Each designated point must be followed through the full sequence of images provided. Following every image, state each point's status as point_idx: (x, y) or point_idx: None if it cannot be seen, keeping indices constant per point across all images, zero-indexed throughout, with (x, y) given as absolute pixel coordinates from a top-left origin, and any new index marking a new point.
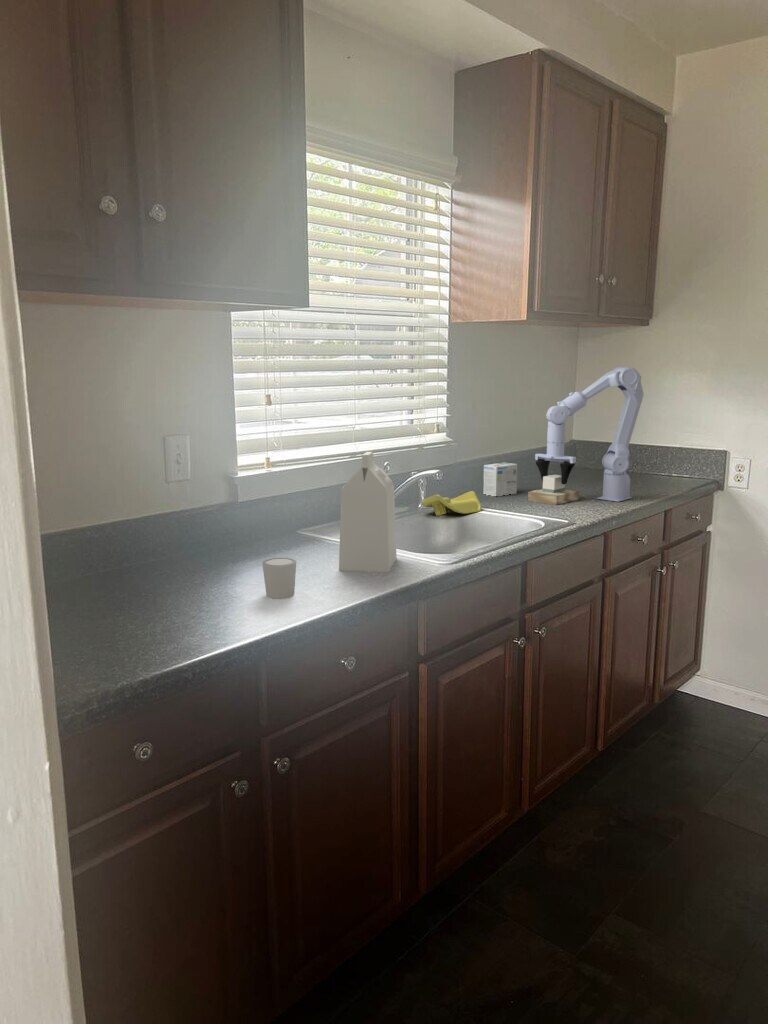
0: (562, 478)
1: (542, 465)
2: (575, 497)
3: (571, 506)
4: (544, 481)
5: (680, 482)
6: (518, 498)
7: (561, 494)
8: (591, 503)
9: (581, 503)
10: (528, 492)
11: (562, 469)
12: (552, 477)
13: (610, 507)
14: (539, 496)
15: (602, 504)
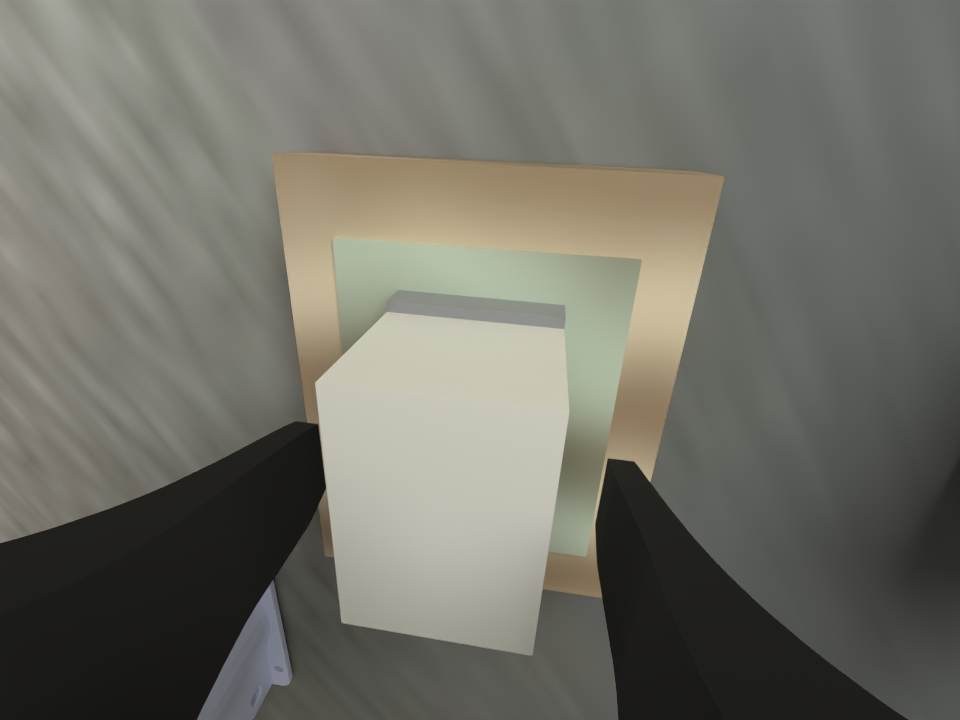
0: (249, 456)
1: (688, 703)
2: None
3: (187, 183)
4: (536, 369)
5: None
6: (853, 236)
7: (297, 280)
8: (191, 410)
9: (235, 368)
10: (718, 176)
11: (97, 548)
12: (371, 405)
13: (7, 347)
14: (530, 164)
15: (122, 418)
